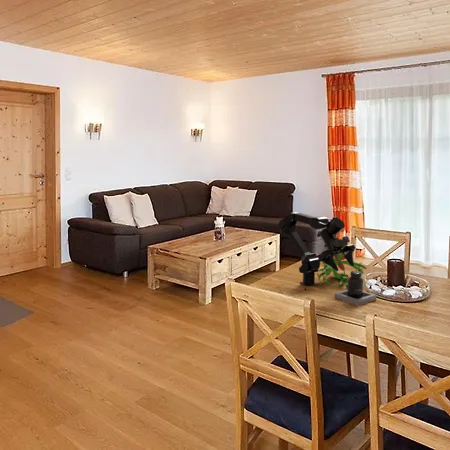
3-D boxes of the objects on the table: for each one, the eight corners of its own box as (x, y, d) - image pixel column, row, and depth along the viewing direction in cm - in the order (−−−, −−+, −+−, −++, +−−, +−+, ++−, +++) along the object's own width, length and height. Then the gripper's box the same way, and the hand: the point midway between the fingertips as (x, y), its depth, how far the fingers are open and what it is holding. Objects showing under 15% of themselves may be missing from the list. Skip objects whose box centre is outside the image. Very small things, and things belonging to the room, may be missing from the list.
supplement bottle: (357, 300, 201) (358, 274, 199) (344, 297, 206) (345, 272, 204) (365, 297, 206) (366, 272, 204) (352, 294, 211) (353, 269, 209)
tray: (334, 297, 207) (334, 293, 207) (352, 292, 215) (353, 288, 214) (357, 305, 197) (358, 300, 197) (376, 299, 204) (376, 294, 204)
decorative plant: (349, 282, 250) (368, 297, 220) (305, 274, 248) (318, 288, 218) (360, 236, 246) (380, 246, 217) (315, 228, 245) (330, 236, 215)
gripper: (322, 235, 203) (338, 265, 197) (353, 227, 211) (370, 256, 205) (311, 247, 212) (326, 276, 206) (341, 239, 220) (357, 267, 214)
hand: (345, 268), depth 207 cm, fingers open, 9 cm apart
